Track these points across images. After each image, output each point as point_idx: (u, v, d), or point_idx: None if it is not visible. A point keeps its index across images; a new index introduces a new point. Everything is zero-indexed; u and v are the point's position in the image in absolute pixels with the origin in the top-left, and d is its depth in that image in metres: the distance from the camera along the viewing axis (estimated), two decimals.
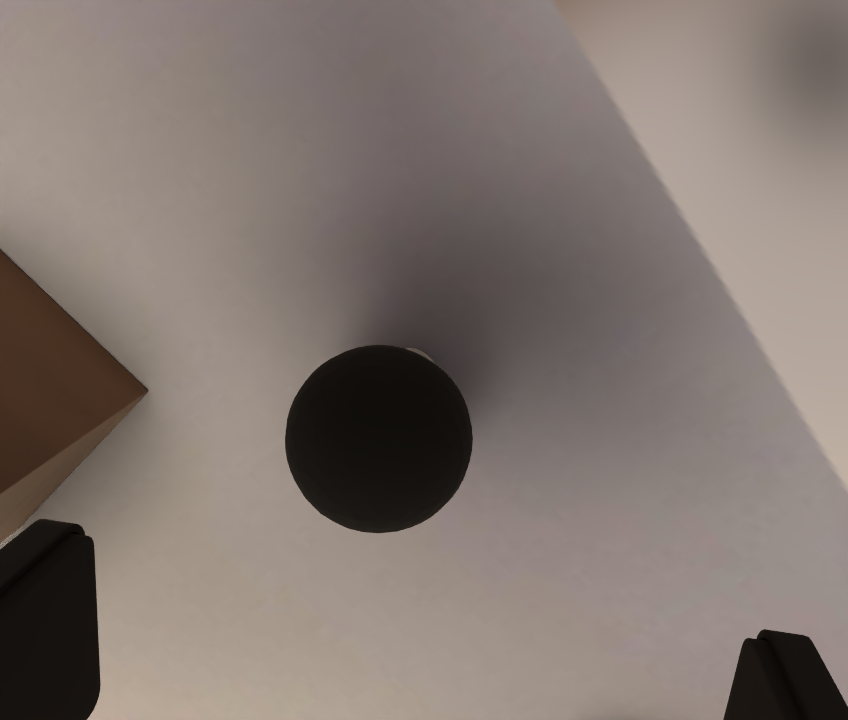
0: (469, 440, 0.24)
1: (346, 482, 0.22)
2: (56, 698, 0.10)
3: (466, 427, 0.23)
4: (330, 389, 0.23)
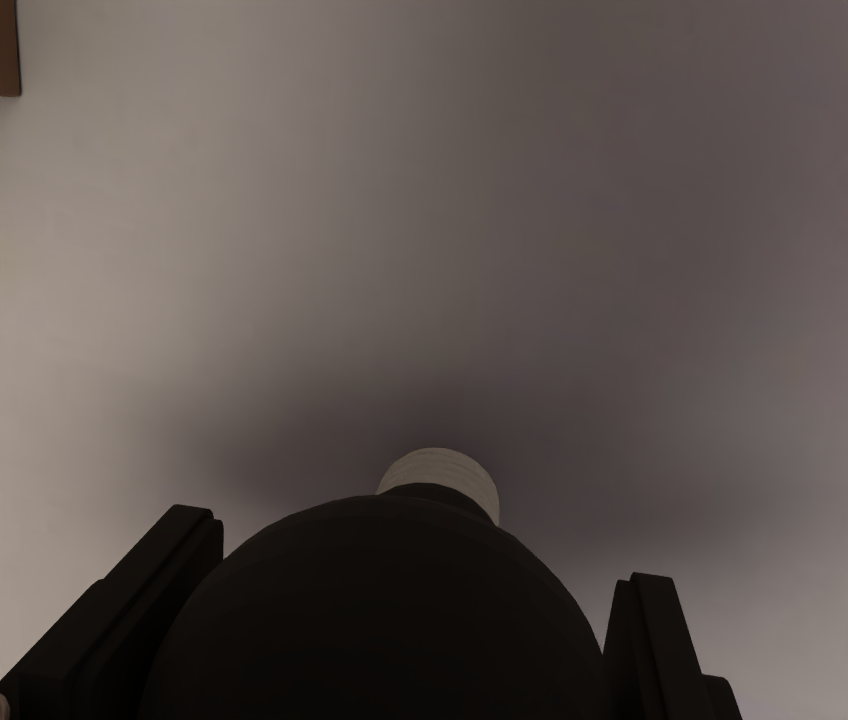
0: None
1: None
2: None
3: None
4: (440, 679, 0.07)
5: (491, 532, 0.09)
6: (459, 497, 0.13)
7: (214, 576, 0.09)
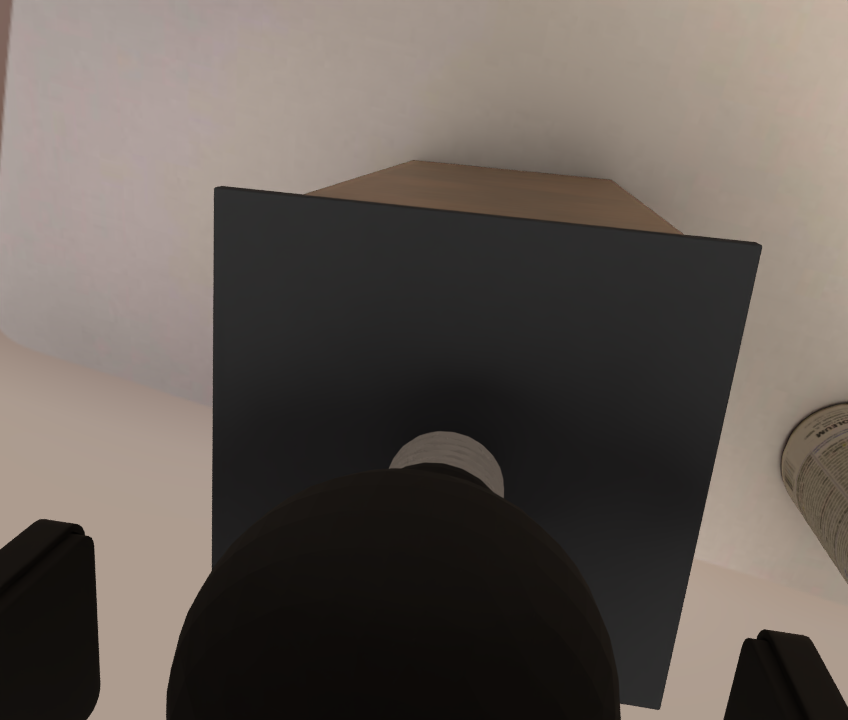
0: None
1: None
2: (56, 698, 0.10)
3: None
4: (453, 627, 0.08)
5: (498, 501, 0.10)
6: (466, 475, 0.14)
7: (242, 541, 0.10)
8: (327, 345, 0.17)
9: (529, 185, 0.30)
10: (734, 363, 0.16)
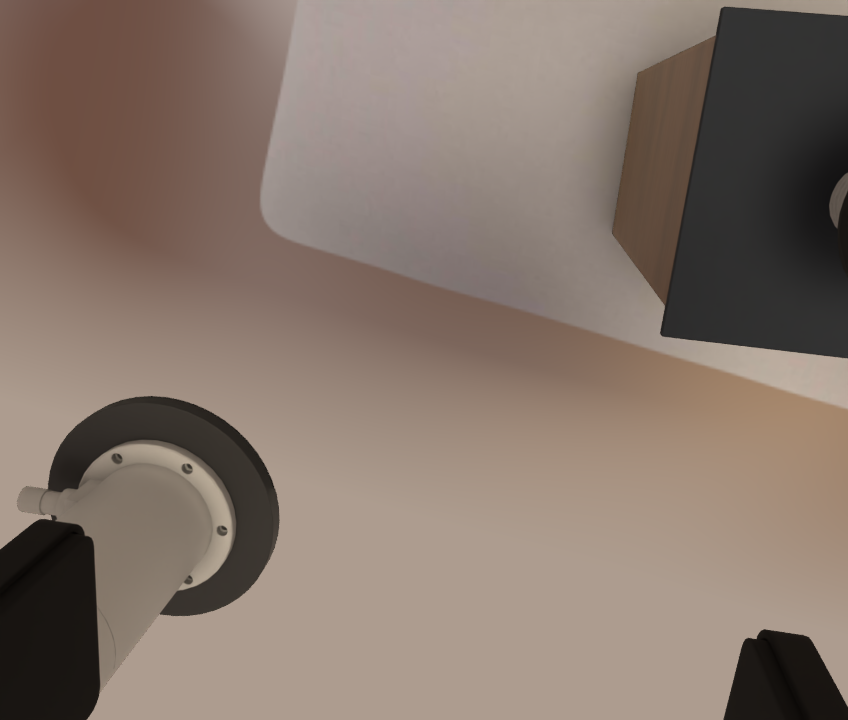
0: None
1: None
2: (56, 698, 0.10)
3: None
4: None
5: None
6: None
7: None
8: (784, 114, 0.25)
9: None
10: None
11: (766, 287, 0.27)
